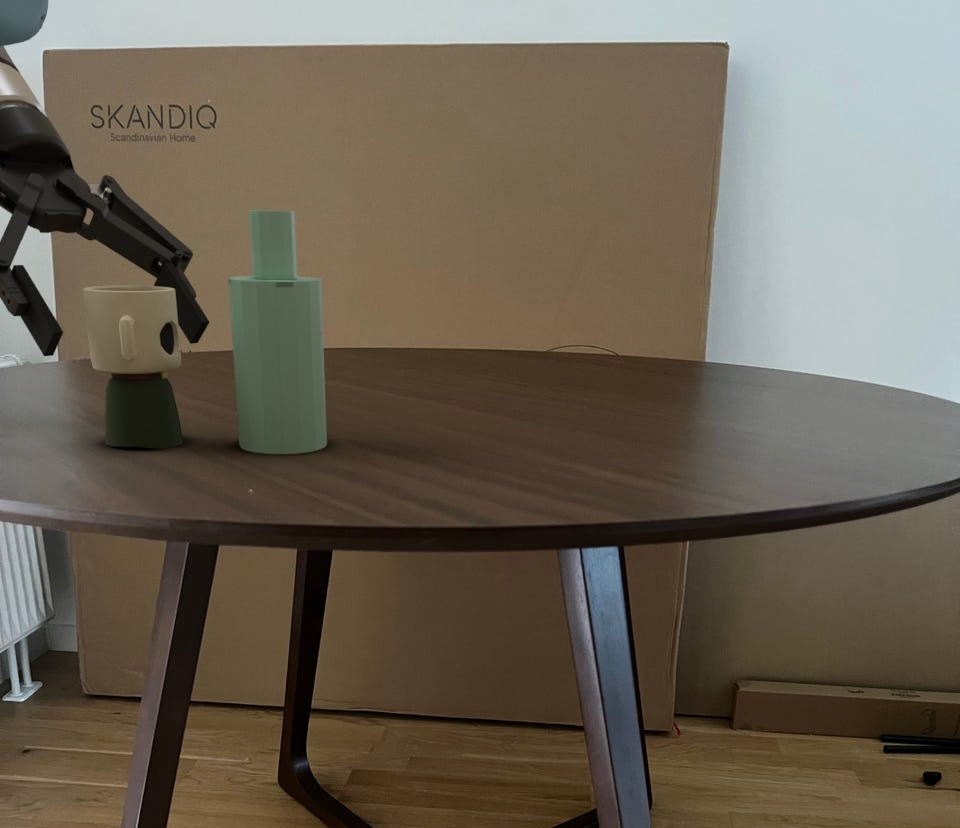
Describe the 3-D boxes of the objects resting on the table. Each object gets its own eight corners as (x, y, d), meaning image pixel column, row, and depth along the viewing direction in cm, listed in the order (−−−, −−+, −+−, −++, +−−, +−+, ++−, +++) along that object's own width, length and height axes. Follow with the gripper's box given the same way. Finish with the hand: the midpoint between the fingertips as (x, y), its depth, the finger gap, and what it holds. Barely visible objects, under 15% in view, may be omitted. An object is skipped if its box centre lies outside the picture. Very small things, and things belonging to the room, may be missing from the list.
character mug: (186, 462, 83) (171, 293, 78) (93, 465, 82) (71, 292, 77) (192, 435, 93) (179, 284, 88) (109, 437, 91) (91, 283, 86)
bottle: (248, 463, 83) (232, 209, 76) (234, 445, 89) (217, 209, 82) (335, 458, 86) (328, 212, 78) (315, 441, 92) (306, 211, 85)
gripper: (123, 179, 98) (234, 356, 95) (-158, 164, 80) (-31, 383, 77) (151, 115, 93) (269, 300, 90) (-143, 84, 75) (-6, 314, 72)
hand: (131, 338), depth 84 cm, fingers open, 13 cm apart
